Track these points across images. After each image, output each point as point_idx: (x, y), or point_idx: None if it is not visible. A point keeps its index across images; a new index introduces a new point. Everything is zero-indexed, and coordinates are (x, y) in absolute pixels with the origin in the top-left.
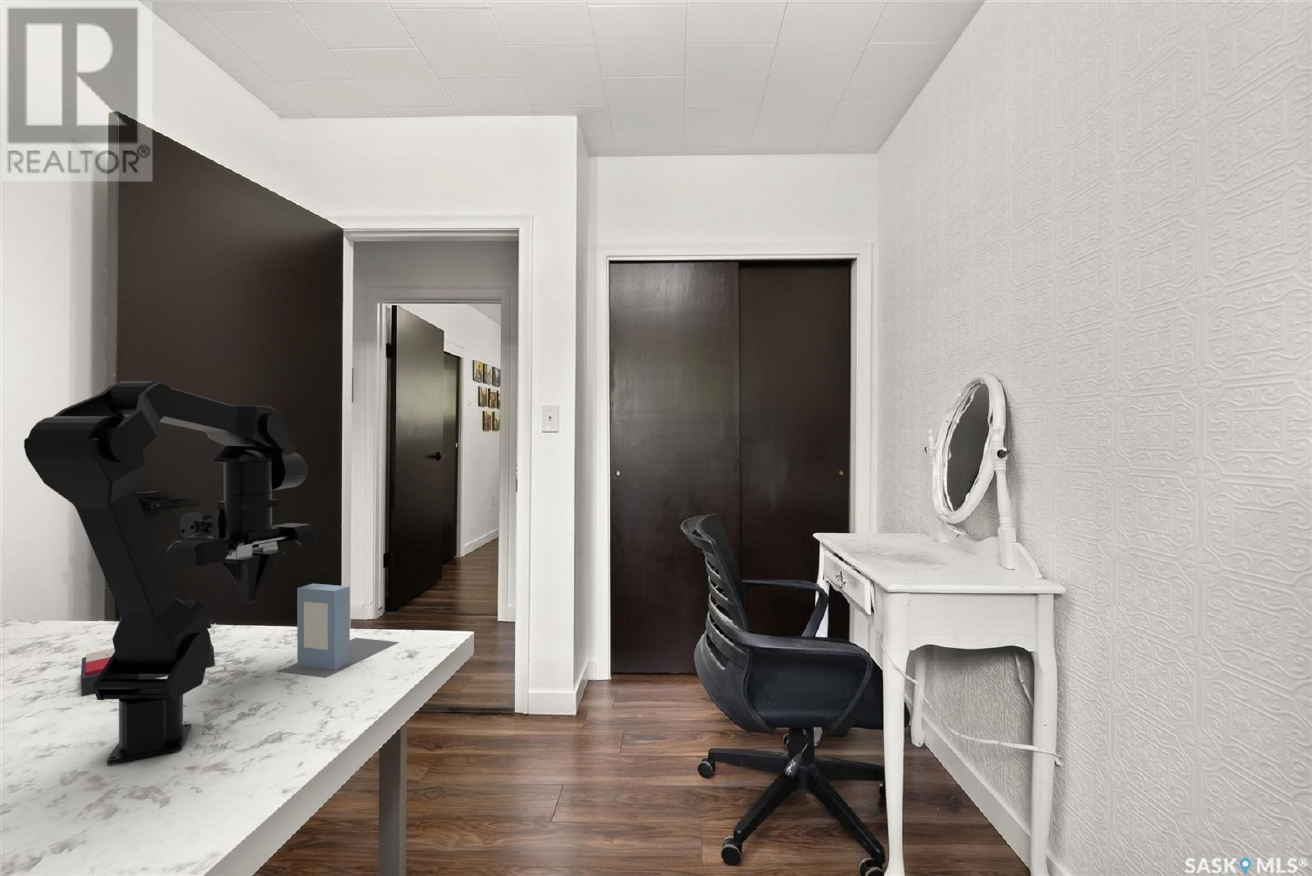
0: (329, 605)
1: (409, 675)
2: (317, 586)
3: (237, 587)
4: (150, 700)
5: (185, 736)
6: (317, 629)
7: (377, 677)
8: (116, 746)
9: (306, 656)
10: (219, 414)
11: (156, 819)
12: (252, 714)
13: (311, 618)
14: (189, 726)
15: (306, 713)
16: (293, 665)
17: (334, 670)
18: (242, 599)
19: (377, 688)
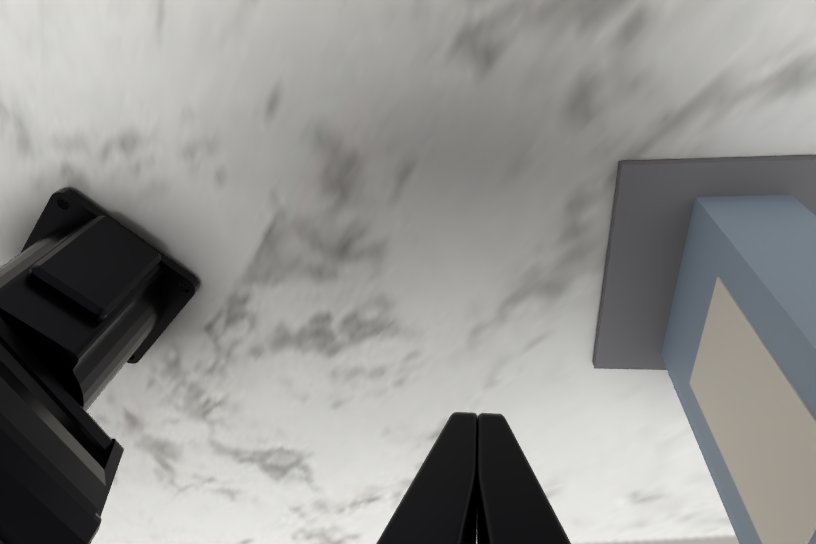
0: None
1: (668, 518)
2: None
3: (392, 527)
4: None
5: (158, 335)
6: (735, 407)
7: (642, 464)
8: (31, 235)
9: (701, 265)
10: None
11: None
12: (330, 348)
13: (771, 422)
14: (185, 300)
15: (388, 447)
16: (701, 174)
17: (660, 354)
18: (441, 434)
19: (566, 497)
